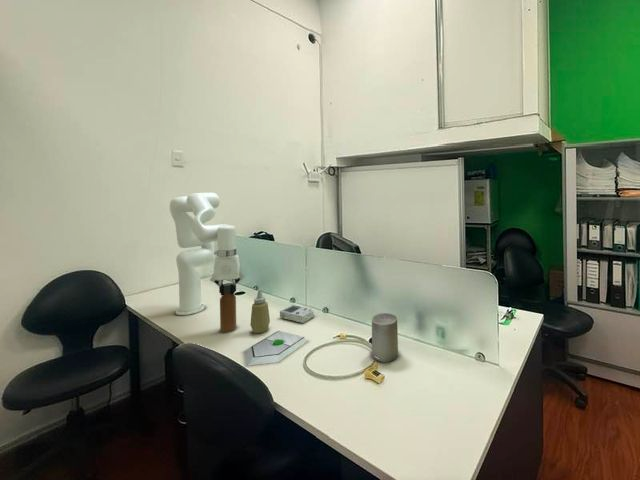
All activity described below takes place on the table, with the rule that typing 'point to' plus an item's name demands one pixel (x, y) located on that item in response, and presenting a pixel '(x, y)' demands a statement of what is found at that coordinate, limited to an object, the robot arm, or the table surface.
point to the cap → (227, 288)
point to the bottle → (227, 312)
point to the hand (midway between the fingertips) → (227, 293)
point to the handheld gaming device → (297, 313)
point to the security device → (273, 348)
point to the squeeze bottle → (260, 314)
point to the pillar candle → (384, 337)
